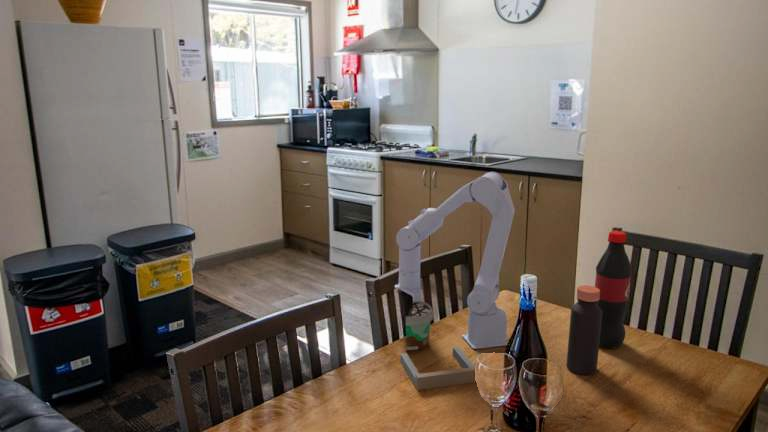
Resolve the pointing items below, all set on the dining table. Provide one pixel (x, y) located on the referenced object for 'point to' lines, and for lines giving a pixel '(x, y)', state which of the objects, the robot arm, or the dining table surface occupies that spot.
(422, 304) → the food container
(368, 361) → the dining table surface
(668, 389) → the dining table surface
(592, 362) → the dark grey water bottle
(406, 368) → the frame
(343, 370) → the dining table surface
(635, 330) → the dining table surface
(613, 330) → the cola bottle
